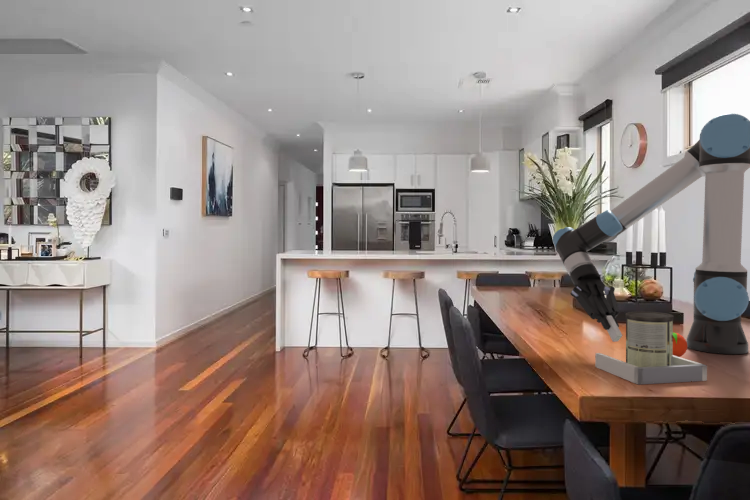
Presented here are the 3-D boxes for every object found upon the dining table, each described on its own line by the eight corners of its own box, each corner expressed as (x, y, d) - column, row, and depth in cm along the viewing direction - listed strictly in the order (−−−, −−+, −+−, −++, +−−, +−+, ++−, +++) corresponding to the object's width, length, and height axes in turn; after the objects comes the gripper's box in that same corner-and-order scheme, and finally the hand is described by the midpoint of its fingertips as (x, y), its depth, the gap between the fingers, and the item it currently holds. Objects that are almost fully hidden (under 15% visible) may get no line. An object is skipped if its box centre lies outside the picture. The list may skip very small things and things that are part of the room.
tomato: (691, 362, 136) (692, 335, 136) (662, 360, 138) (662, 333, 138) (683, 355, 144) (683, 330, 144) (655, 354, 146) (655, 328, 146)
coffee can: (618, 366, 132) (619, 311, 132) (661, 367, 131) (661, 311, 131) (634, 377, 122) (635, 316, 122) (681, 378, 121) (681, 317, 121)
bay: (595, 366, 132) (595, 353, 132) (657, 363, 135) (657, 350, 135) (637, 384, 116) (638, 368, 116) (706, 380, 119) (707, 365, 119)
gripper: (596, 279, 157) (633, 345, 141) (556, 280, 155) (589, 347, 139) (607, 262, 152) (646, 329, 135) (566, 262, 149) (601, 331, 133)
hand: (617, 338), depth 137 cm, fingers closed
